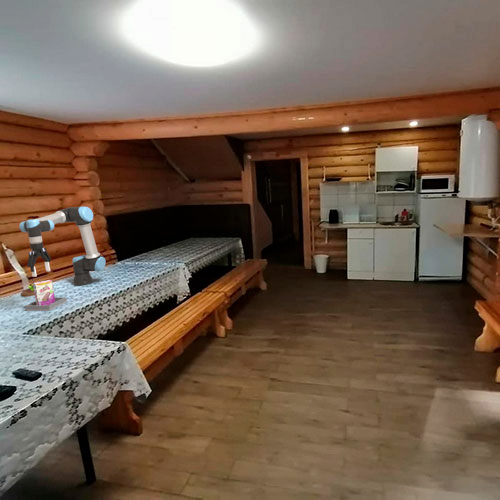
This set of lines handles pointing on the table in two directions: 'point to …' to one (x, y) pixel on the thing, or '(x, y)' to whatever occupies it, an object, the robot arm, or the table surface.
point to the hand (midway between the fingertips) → (41, 273)
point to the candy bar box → (44, 292)
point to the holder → (57, 303)
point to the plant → (29, 291)
